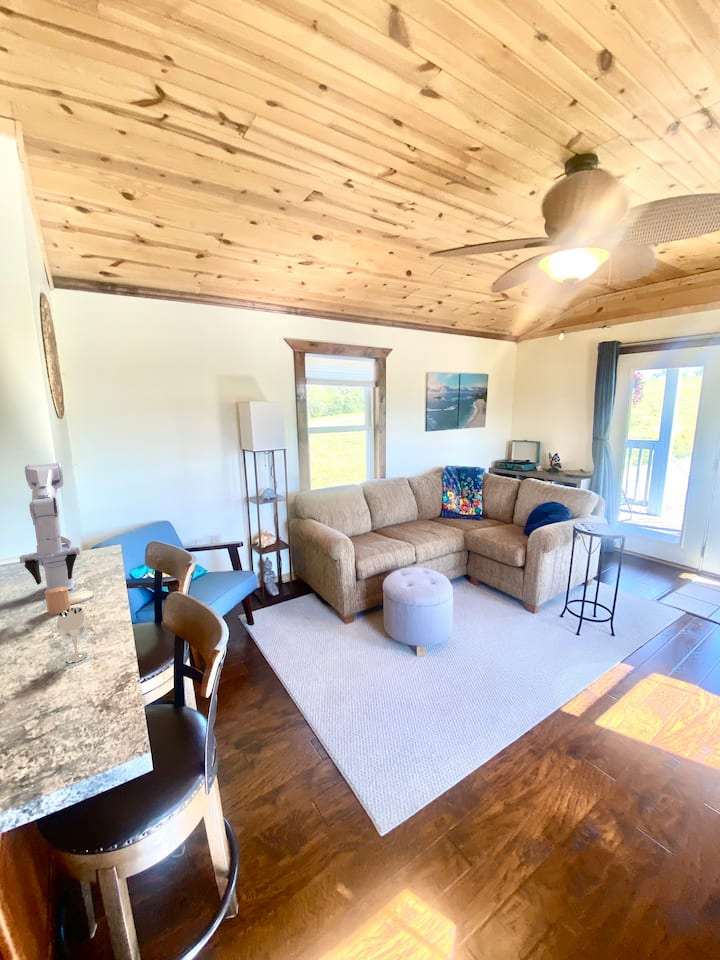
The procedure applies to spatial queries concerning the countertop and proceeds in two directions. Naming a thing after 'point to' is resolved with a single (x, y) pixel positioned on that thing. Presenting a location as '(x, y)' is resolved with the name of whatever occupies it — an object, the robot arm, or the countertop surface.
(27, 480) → the robot arm
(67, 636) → the wineglass
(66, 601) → the cup
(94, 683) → the countertop surface
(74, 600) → the dish
